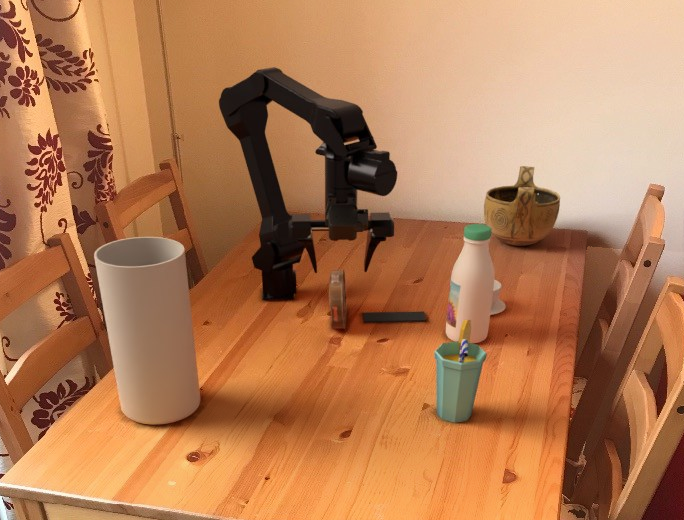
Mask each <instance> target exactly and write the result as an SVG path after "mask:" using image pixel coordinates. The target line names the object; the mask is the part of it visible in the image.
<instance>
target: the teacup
mask: <svg viewBox="0 0 684 520" xmlns="http://www.w3.org/2000/svg"><path fill="white" fill-rule="evenodd" d="M502 287H503V286H502V283H501V282H500V281H498V280H496V279H494V288H493V297H492V305H491V313H490V316H491V315H497V314H499V313H502V312H503V311H504V310H505V309H506V307H507V306H506V303H505V302H504V301H502V300H501V299H499V298H500V295H501V291H502Z"/></svg>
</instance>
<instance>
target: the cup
mask: <svg viewBox="0 0 684 520" xmlns="http://www.w3.org/2000/svg"><path fill="white" fill-rule="evenodd" d="M470 335H471V320H464V321H463V324H462V326H461V329H460V336H459V341H456V342H455V341H450V342H442V343H441V344H440V345H439V346H438V347H437V348H436V349H435V350H434V354H433V355H434V359H435V361H436V362H435V363H436V367H435V368H436V369H435V371H436V415H437V416H438V417H439V418H440V419H441V420H442V421H446V422H449V423H453V424H456V423H463V422H467V421H468V420H469V418H470V417H471V416H472V415H473V410H474V405H475V400H476V395H477V391H478V388H479V384H480V383H479V382H480V379H481V375H482V369H483V365H484V362H486V360H487V356H488V353H487V352H486V351H485V349H483V348H482V347H481V346H480V345H478V344H477V343H469V341H470Z"/></svg>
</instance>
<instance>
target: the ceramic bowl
mask: <svg viewBox="0 0 684 520" xmlns="http://www.w3.org/2000/svg"><path fill="white" fill-rule="evenodd" d="M534 175H535V166H527V165H521V166H519V171H518V177H517V181H516V182H515V184H514V185H502V186H497V187H493V188H490V189H488V190H487V191H486V193H485V198H484V202H483V203H484V204H483V218H484V222H485V223H484V224H485V225H488V226H490V227H491V229H492V232H491V236H493V237H495V238H497V240H499V241H501V242H502V243H505V244H507V245H509V246H515V247H524V246H525V247H526V246H530V245H534V244H536V243H539V242H540V241H542V240H543V239H545V238H546V237H547V236H548V235H549V234H550V233H551V231H552V230H553V228H554V227H555V225H556V222H557V220H558V217H559V213H560V206H561V196H560V194H559V193H558V192H556V191H554V190H552V189H548V188H544V187H539V186H537V185H536V184H535V182H534Z"/></svg>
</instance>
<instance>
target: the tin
mask: <svg viewBox="0 0 684 520" xmlns="http://www.w3.org/2000/svg"><path fill="white" fill-rule="evenodd" d="M328 282H329V283H328V303H329V305H328V306H329V309H330V327H331V329H332V330H346V326H347V325H346V322H347V290H346V288H347V287H346V273H345V269H335V270H332V271H330V273H329V281H328Z"/></svg>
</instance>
